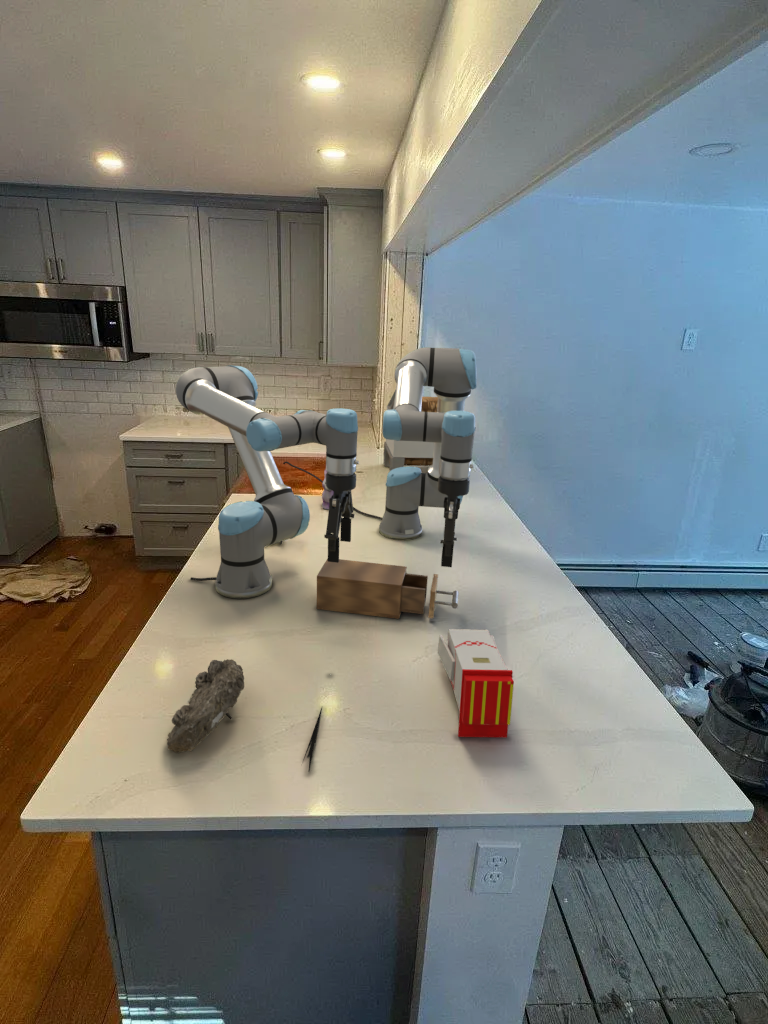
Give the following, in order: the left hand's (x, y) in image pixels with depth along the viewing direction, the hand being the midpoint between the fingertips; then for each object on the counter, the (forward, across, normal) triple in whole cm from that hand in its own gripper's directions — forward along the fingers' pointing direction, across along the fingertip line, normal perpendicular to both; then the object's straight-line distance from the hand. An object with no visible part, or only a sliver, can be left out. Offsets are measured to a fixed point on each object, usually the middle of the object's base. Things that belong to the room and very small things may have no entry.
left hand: (339, 550), depth 148 cm
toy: (+15, -31, -36) cm, 50 cm away
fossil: (+15, -50, +13) cm, 53 cm away
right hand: (+1, 0, -28) cm, 28 cm away
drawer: (+14, 0, -19) cm, 23 cm away
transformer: (+15, +133, -8) cm, 134 cm away
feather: (+15, -46, -7) cm, 49 cm away
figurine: (+15, +74, +21) cm, 78 cm away
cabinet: (+15, 0, -6) cm, 16 cm away
